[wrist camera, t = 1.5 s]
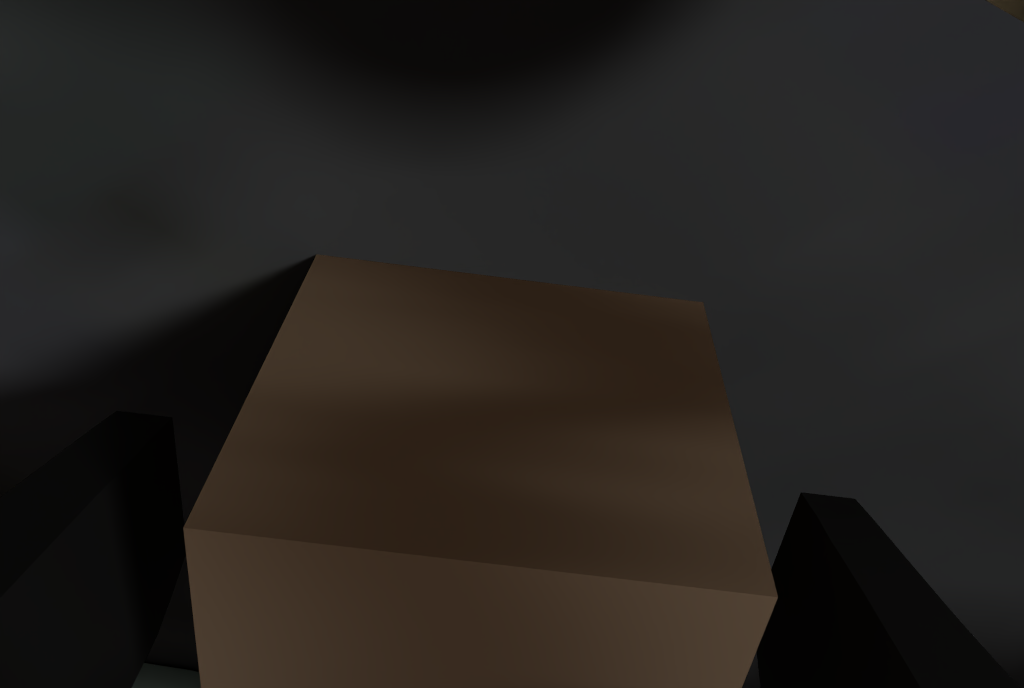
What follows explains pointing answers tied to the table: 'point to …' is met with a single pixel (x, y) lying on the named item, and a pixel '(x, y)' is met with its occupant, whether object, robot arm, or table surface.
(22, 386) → the table surface
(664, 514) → the block
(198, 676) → the dish
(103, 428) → the robot arm
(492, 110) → the table surface
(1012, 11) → the balance
